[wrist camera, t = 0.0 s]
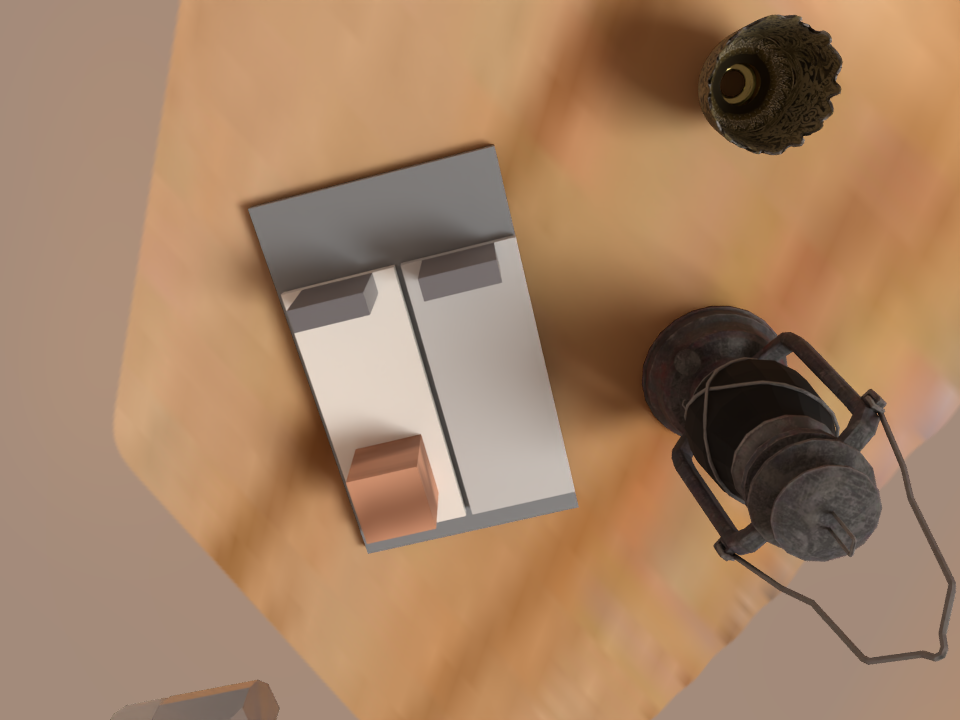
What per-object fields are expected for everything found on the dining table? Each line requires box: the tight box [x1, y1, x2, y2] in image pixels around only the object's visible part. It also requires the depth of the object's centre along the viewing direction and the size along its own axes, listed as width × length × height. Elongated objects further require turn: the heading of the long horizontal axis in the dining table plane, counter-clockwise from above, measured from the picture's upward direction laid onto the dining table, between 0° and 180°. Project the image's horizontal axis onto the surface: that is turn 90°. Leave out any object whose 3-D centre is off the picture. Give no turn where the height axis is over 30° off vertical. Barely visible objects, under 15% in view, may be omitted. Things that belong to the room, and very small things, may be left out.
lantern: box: [642, 306, 956, 665], centre depth 45 cm, size 12×11×30 cm
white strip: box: [281, 265, 466, 522], centre depth 55 cm, size 20×8×6 cm, turn 14°
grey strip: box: [401, 235, 575, 515], centre depth 55 cm, size 20×8×6 cm, turn 14°
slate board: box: [248, 145, 578, 554], centre depth 58 cm, size 28×17×1 cm, turn 14°
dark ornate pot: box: [698, 15, 843, 155], centre depth 48 cm, size 8×7×8 cm
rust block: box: [346, 434, 439, 544], centre depth 57 cm, size 5×5×5 cm
